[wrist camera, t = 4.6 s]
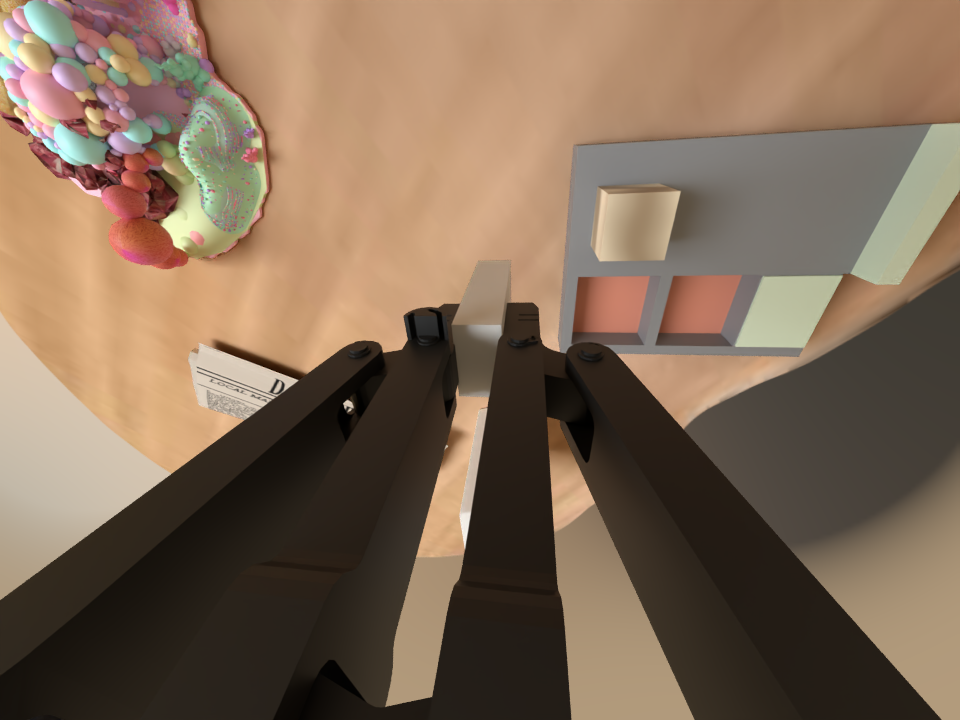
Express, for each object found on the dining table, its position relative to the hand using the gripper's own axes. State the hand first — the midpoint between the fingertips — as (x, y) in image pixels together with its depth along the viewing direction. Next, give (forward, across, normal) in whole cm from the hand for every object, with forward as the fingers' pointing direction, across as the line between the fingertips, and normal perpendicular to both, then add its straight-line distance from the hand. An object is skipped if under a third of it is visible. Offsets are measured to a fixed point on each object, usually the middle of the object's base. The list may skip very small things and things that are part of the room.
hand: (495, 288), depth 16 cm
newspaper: (+19, -26, -25) cm, 41 cm away
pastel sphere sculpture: (+19, -33, +10) cm, 39 cm away
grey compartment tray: (+18, +18, -4) cm, 26 cm away
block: (+15, +9, 0) cm, 18 cm away
